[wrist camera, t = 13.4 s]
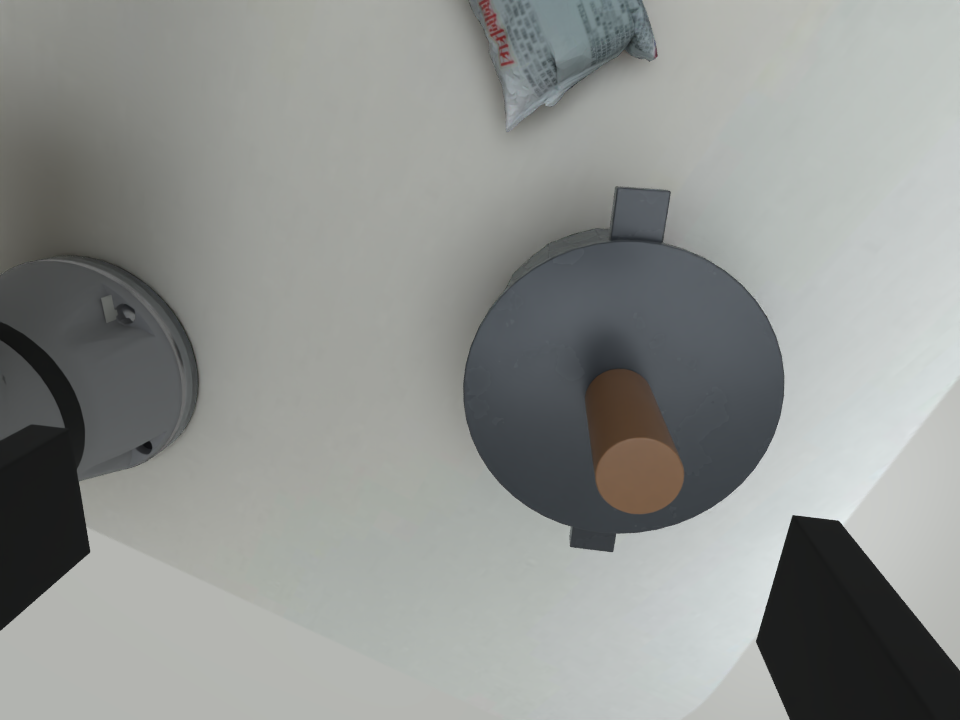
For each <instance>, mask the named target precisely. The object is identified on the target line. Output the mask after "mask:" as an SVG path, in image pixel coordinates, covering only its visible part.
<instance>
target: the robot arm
mask: <svg viewBox="0 0 960 720" xmlns="http://www.w3.org/2000/svg"><path fill="white" fill-rule="evenodd" d="M197 391H198V375H197V368H196V362H195V358H194V354H193V351H192V348H191V345H190V342H189V340H188V338H187V335H186V333H185V331H184V330H183V328H182V326H181V324H180V322H179V321H178V319H177V318H176V316H175V315H174V313H173V312H172V311H171V309H170V308H169V307H168V306H167V304H166V303H165V302H164V301H163V300H162V299H161V298H160V297H159V296H158V295H157V294H156V293H155V292H154V291H153V290H152V289H151V288H150V287H149V286H147V285H146V284H145V283H144V282H142V281H141V280H140V279H138V278H137V277H135V276H134V275H132V274H130V273H129V272H127V271H125V270H123V269H121V268H119V267H117V266H115V265H113V264H110V263H107V262H104V261H101V260H98V259H94V258H90V257H83V256H57V257H52V258H47V259H42V260H37V261H32V262H27V263H24V264H21V265H18V266H16V267H13V268H11V269H9V270H7V271H6V272H4V273H3V274H1V275H0V630H2V629H3V628H4V627H5V626H6V625H8V624H9V623H10V622H11V621H12V620H13V619H14V618H16V617H17V616H18V615H19V614H20V613H21V612H22V611H23V610H25V609H26V608H27V607H28V606H29V605H30V604H32V603H33V602H34V601H35V600H36V599H37V598H38V597H39V596H41V594H43V593H44V592H45V591H46V590H48V589H49V588H50V587H51V586H52V585H53V584H54V583H56V582H57V581H58V580H59V579H60V578H61V577H62V576H64V575H65V574H66V573H67V572H68V571H69V570H70V569H72V568H73V567H74V566H75V565H76V564H77V563H78V562H79V561H81V560H82V559H83V558H84V557H85V556H86V555H88V554H89V553H90V547H89V541H88V535H87V529H86V523H85V517H84V511H83V505H82V499H81V492H80V486H79V481H82V480H85V479H89V478H93V477H97V476H101V475H104V474H108V473H112V472H116V471H120V470H124V469H128V468H132V467H134V466H137V465H140V464H142V463H144V462H146V461H148V460H149V459H151V458H152V457H154V456H155V455H156V454H158V453H159V452H160V451H162V450H163V449H164V448H166V447H167V446H168V445H170V444H171V443H172V442H173V441H174V440H176V439H177V437H178V436H179V435H180V434H181V433H182V432H183V430H184V429H185V428H186V426H187V424H188V422H189V421H190V418H191V416H192V414H193V411H194V408H195V404H196V399H197ZM756 643H757V645H758V647H759V650H760V652H761V654H762V656H763V659H764V661H765V663H766V666H767V668H768V670H769V673H770V674H771V677H772V680H773V682H774V684H775V686H776V689H777V691H778V693H779V696H780V698H781V700H782V702H783V705H784V707H785V709H786V712H787V714H788V716H789V719H790V720H960V671H959V669H958V668H957V667H956V665H955V664H954V663H953V662H952V660H951V659H950V658H949V657H948V656H947V655H946V653H945V652H944V651H943V649H942V648H941V647H940V646H939V644H938V643H937V642H936V641H935V639H934V638H933V637H932V636H931V635H930V633H929V632H928V631H927V630H926V628H925V627H924V626H923V625H922V623H921V622H920V621H919V620H918V618H917V617H916V616H915V615H914V613H913V612H912V611H911V610H910V609H909V607H908V606H907V605H906V603H905V602H904V601H903V600H902V599H901V597H900V596H899V595H898V594H897V593H896V591H895V590H894V589H893V587H892V586H891V585H890V584H889V582H888V581H887V580H886V579H885V577H884V576H883V575H882V574H881V573H880V571H879V570H878V569H877V568H876V566H875V565H874V564H873V563H872V561H871V560H870V559H869V558H868V556H867V555H866V554H865V553H864V551H863V550H862V549H861V548H860V546H859V545H858V544H857V543H856V542H855V540H854V539H853V538H852V537H851V535H850V534H849V533H848V532H847V530H846V529H845V528H844V527H843V525H842V524H841V523H840V522H839V521H836V520H828V519H820V518H811V517H803V516H795V515H793V516H792V519H791V523H790V526H789V529H788V533H787V536H786V540H785V543H784V547H783V550H782V554H781V557H780V561H779V564H778V567H777V571H776V574H775V578H774V581H773V585H772V588H771V592H770V595H769V599H768V602H767V606H766V609H765V612H764V616H763V619H762V623H761V626H760V630H759V633H758V637H757V640H756Z"/></svg>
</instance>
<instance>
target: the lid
mask: <svg viewBox="0 0 960 720" xmlns="http://www.w3.org/2000/svg"><path fill="white" fill-rule="evenodd" d="M463 391H464V408H465V414H466V420H467V424H468V427H469V430H470V434H471V437H472V439H473V442H474V444H475V446H476V448H477V451H478V453H479V455H480V456H481V458H482V460H483V461H484V463H485V464H486V466H487V468H488V469H489V470H490V472H491V473H492V474H493V475H494V477H495V478H496V479H497V480H498V481H499V483H500V484H501V485H502V486H503V487H504V488H505V489H506V490H508V491H509V492H510V493H511V494H512V495H513V496H514V497H515V498H517V499H518V500H519V501H521V502H522V503H523V504H525V505H526V506H527V507H529V508H531V509H532V510H534V511H536V512H538V513H540V514H541V515H543V516H545V517H547V518H550V519H552V520H554V521H557V522H559V523H561V524H565V525H568V526H571V527H575V528H578V529H583V530H589V531H594V532H602V533H617V534H618V533H638V532H644V531H651V530H657V529H661V528H664V527H668V526H672V525H675V524H678V523H680V522H683V521H685V520H688V519H690V518H693V517H695V516H697V515H699V514H701V513H702V512H704V511H706V510H708V509H710V508H712V507H713V506H714V505H716V504H717V503H719V502H720V501H722V500H723V499H724V498H726V497H727V496H728V495H730V494H731V493H732V492H733V491H734V490H735V489H736V488H737V487H738V486H740V485H741V484H742V483H743V482H744V480H745V479H746V478H747V477H748V476H749V475H750V473H751V472H752V471H753V470H754V469H755V468H756V466H757V465H758V463H759V461H760V460H761V458H762V457H763V455H764V454H765V452H766V451H767V448H768V446H769V444H770V442H771V440H772V438H773V436H774V434H775V431H776V428H777V425H778V422H779V418H780V415H781V409H782V403H783V398H784V370H783V362H782V355H781V352H780V348H779V345H778V341H777V338H776V335H775V333H774V331H773V329H772V327H771V324H770V322H769V320H768V318H767V316H766V315H765V313H764V312H763V310H762V309H761V307H760V306H759V304H758V303H757V301H756V300H755V299H754V298H753V297H752V295H751V294H750V293H749V292H748V291H747V290H746V289H745V288H744V287H743V285H742V284H740V283H739V282H738V281H737V280H736V279H734V278H733V277H732V276H731V275H730V274H728V273H727V272H726V271H725V270H723V269H722V268H720V267H718V266H717V265H715V264H713V263H712V262H710V261H708V260H707V259H705V258H703V257H701V256H699V255H697V254H694V253H692V252H690V251H687V250H685V249H682V248H679V247H675V246H672V245H668V244H664V243H659V242H652V241H645V240H610V241H601V242H594V243H590V244H586V245H582V246H578V247H574V248H572V249H569V250H567V251H564V252H561V253H559V254H556V255H554V256H552V257H550V258H548V259H546V260H545V261H543V262H541V263H539V264H537V265H536V266H534V267H533V268H531V269H530V270H528V271H527V272H526V273H524V274H523V275H522V276H520V277H519V278H518V279H517V280H515V281H514V282H513V283H512V284H511V285H510V286H509V287H508V288H507V289H506V290H505V291H504V292H503V293H502V294H501V295H500V297H499V298H498V299H497V300H496V302H495V303H494V304H493V305H492V307H491V308H490V309H489V311H488V313H487V314H486V316H485V318H484V319H483V321H482V323H481V324H480V326H479V328H478V331H477V333H476V335H475V338H474V340H473V342H472V345H471V347H470V351H469V355H468V358H467V362H466V367H465V375H464V383H463Z"/></svg>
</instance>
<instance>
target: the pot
mask: <svg viewBox="0 0 960 720" xmlns="http://www.w3.org/2000/svg"><path fill="white" fill-rule="evenodd" d="M670 194H671V192H670V191H668V190H661V189H647V188H633V187H618V186H617V187H615V192H614V200H613V208H612V215H611V223H610V229H591V230H588V231H584V232H580V233H576V234H573V235H570V236H567V237H565V238H562V239H560V240H557V241H554V242H551V243H550V244H547V245H546V246H545V247H544V248H543V249H541V250H540V251H539V252H537V253H536V254H535V255H533V256H532V257H531V258H530V259H529V260H528V261H527V262H526V263H525V264H524V265H523V266H521V267H520V268H519V269H518V270H517V271H515V272H514V274H513V275H512V277H511V279H510V281H509V283H508V285H507V287H506V289H507V288H508V287H509V286H510V285H511V284H512V283H513V282H514V281H515V280H517V279H518V278H519V277H520V276H522V275H523V274H524V273H526V272H527V271H528V270H530V269H531V268H533V267H534V266H536V265H537V264H539V263H541V262H543V261H545V260H546V259H548V258H550V257H552V256H554V255H556V254H559V253H561V252H564V251H567V250H569V249H572V248H574V247H578V246H582V245H586V244H590V243H594V242H601V241H610V240H645V241H652V242H659V243H663V237H664V231H665V225H666V219H667V212H668V206H669V200H670ZM664 244H665V243H664ZM506 289H505V290H506ZM505 290H504V291H505ZM615 538H616V533H602V532H594V531H589V530H583V529H578V528H575V527H571V529H570V547H574V548H583V549H591V550H599V551H607V552H613V550H614V544H615Z"/></svg>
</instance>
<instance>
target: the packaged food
mask: <svg viewBox="0 0 960 720" xmlns="http://www.w3.org/2000/svg"><path fill="white" fill-rule="evenodd" d="M469 3H470V6H471V8H472V10H473V12H474V14H475V16H476V17H477V19H478V20H479V22H480V24H481V25H482V27H483V29H484V31H485V35H486V38H487V39H488V40H489V44H490V45H489V54H490V57H491V59H492V62H493V65H494V67H495V70H496V73H497V75H498V78H499V80H500V83H501V85H502V88H503V95H504V101H505V113H506V131H507V132H508V131H510V130H512V129H513V128H514V127H515V126H516V125H517V124H518V123H519V122H520V121H521V120H522V119H524V118H525V117H526V116H528V115H529V114H531V113H532V112H533V111H534V110H536V109H537V108H538V107H539V106H540V105H542V104H544V103H546V105H545V106H550V107H552V106H554V105H555V104H556V103H557V102H558V101H559V100H560V99H561V97H562V96H563V95H564V93H565V92H566V91H567V90H569V89H570V88H571V87H573V86H574V85H575V84H577V83H578V82H579V81H580V80H582V79H583V78H584V77H586V76H587V75H589V74H590V73H592V72H593V71H594V70H596V69H597V68H599V67H600V66H601V65H603V64H604V63H606V62H608V61H610V60H611V59H613V58H616V57H618V55H619V54H620V53H621V52H622V51H623V50H626V51H627V52H628V53H629V54H630V55H631V56H634V57H636V58H639V57H640V58H639V59H646V60H648V61H649V62H650V61H651V60H654V59H655V58H656V57H657V48H656V43H655V39H654V35H653V32H652V28H651V25H650V22H649V19H648V15H647V12H646V10H645V7H644V5H643V2H642V0H469ZM638 56H639V57H638Z"/></svg>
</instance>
